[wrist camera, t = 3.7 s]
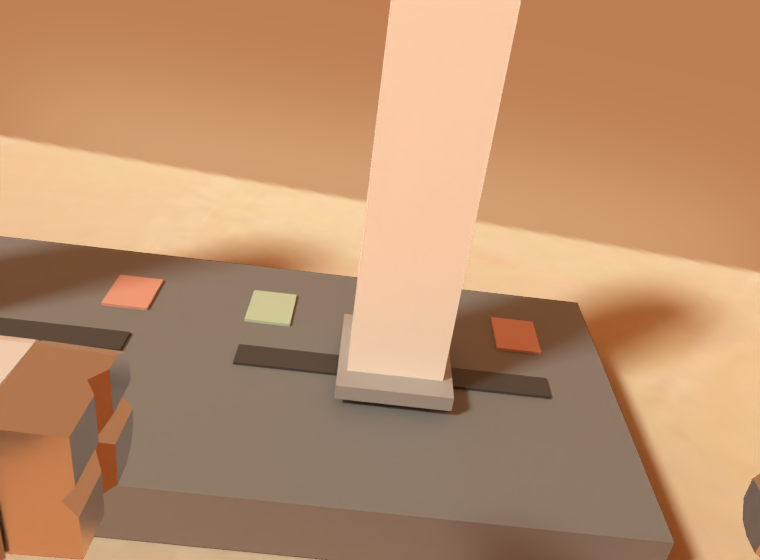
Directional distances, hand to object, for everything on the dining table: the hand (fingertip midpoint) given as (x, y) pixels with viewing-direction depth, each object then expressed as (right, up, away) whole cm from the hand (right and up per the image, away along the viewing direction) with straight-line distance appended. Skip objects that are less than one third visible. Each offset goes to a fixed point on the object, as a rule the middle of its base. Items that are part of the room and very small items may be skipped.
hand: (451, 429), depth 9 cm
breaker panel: (-8, -2, +16) cm, 17 cm away
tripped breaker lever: (0, -1, +15) cm, 15 cm away
